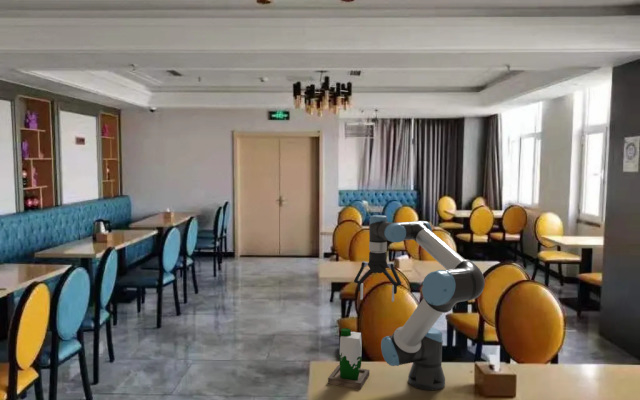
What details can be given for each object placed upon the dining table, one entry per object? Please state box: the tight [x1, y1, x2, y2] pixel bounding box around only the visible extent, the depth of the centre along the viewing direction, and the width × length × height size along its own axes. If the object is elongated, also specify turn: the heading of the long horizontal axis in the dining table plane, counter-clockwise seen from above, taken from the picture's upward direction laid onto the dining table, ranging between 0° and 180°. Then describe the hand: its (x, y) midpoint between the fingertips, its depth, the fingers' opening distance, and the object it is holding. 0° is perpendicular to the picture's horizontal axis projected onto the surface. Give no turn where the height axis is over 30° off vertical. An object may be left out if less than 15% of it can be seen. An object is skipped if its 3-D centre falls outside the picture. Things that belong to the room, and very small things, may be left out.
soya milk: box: [339, 327, 363, 380], centre depth 221 cm, size 9×9×20 cm
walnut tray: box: [327, 364, 370, 390], centre depth 222 cm, size 14×14×2 cm
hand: (377, 300), depth 229 cm, fingers open, 13 cm apart
